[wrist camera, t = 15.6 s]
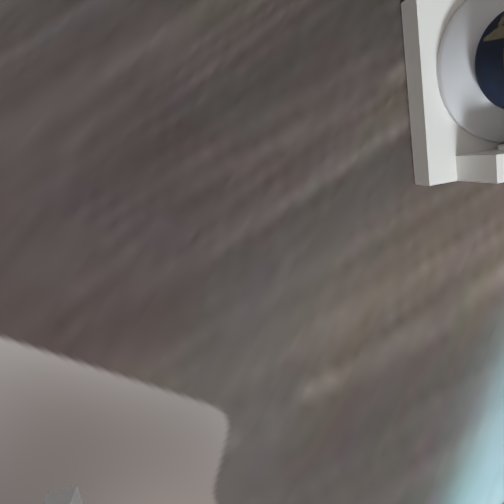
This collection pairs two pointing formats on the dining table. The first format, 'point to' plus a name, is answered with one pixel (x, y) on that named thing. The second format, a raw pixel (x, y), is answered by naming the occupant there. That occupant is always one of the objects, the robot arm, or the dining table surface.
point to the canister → (491, 62)
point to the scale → (450, 92)
